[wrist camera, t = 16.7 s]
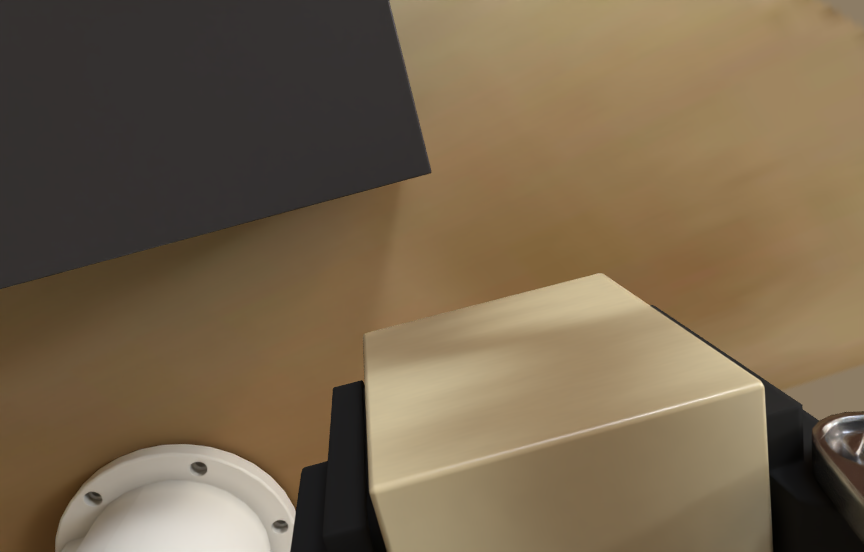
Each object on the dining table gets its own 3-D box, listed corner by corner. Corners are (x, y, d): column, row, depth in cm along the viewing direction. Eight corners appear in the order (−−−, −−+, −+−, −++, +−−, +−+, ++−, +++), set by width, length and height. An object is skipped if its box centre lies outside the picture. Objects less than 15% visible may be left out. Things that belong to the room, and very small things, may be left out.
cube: (417, 534, 12) (454, 778, 8) (361, 332, 10) (367, 490, 6) (630, 475, 12) (783, 678, 8) (602, 271, 11) (767, 381, 6)
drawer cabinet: (101, 229, 27) (-31, 297, 18) (-33, -74, 23) (-290, -186, 14) (407, 147, 28) (432, 173, 19) (327, -162, 24) (308, -325, 15)
